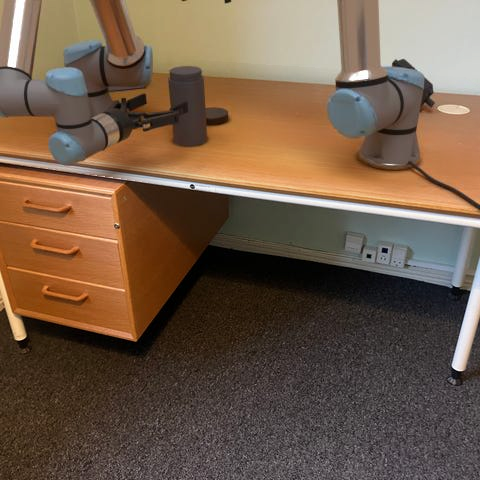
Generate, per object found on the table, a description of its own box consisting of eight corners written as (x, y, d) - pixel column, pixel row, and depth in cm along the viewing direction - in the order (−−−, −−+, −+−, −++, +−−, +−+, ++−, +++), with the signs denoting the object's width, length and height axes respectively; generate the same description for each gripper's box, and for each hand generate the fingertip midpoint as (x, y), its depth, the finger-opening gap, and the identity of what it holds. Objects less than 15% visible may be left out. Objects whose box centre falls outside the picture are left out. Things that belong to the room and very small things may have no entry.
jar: (213, 137, 154) (210, 67, 144) (194, 148, 147) (189, 76, 137) (186, 132, 159) (181, 64, 148) (166, 142, 152) (160, 72, 141)
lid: (192, 125, 163) (192, 118, 162) (197, 114, 172) (196, 107, 171) (227, 125, 163) (226, 118, 161) (229, 114, 172) (229, 107, 170)
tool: (374, 89, 181) (400, 53, 170) (416, 126, 177) (445, 91, 166) (365, 93, 177) (391, 56, 166) (408, 131, 173) (438, 96, 162)
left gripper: (73, 134, 131) (130, 108, 146) (152, 154, 120) (205, 124, 135) (67, 104, 127) (127, 81, 142) (149, 122, 116) (204, 95, 131)
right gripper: (153, -87, 140) (161, 1, 151) (239, -88, 131) (240, 5, 142) (168, -87, 145) (174, -3, 157) (251, -89, 136) (252, 1, 148)
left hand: (165, 102), depth 139 cm, fingers open, 13 cm apart
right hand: (206, 1), depth 149 cm, fingers open, 13 cm apart
